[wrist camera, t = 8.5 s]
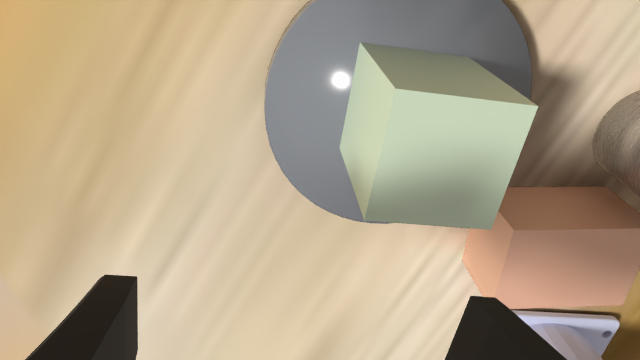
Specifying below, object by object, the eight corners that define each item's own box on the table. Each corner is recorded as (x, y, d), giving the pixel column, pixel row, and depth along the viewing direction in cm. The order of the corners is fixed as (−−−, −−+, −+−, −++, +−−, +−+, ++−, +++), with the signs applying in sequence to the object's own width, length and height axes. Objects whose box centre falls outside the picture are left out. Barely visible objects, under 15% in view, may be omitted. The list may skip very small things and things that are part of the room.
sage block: (438, 157, 19) (490, 229, 15) (339, 147, 19) (363, 220, 14) (468, 57, 17) (538, 105, 13) (360, 41, 17) (395, 88, 12)
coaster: (472, 219, 22) (481, 232, 21) (251, 200, 20) (250, 213, 20) (559, -13, 18) (575, -9, 17) (283, -64, 16) (284, -63, 15)
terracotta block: (576, 255, 24) (622, 304, 21) (460, 258, 24) (490, 309, 20) (603, 184, 22) (658, 228, 19) (478, 185, 22) (514, 230, 19)
